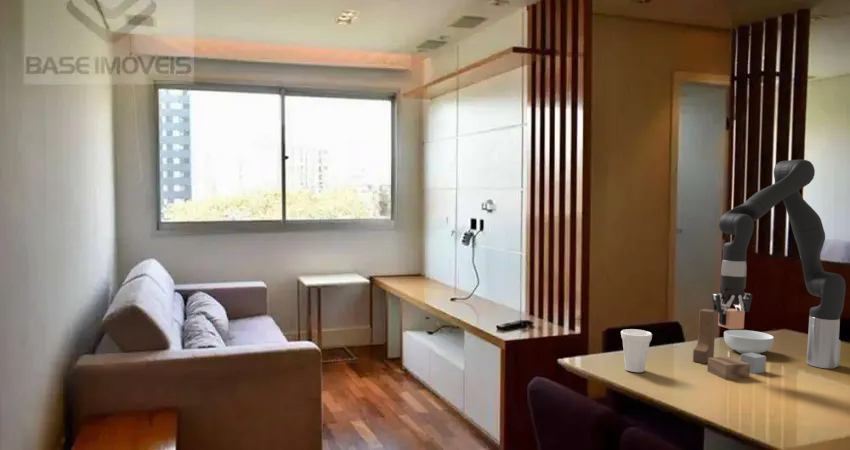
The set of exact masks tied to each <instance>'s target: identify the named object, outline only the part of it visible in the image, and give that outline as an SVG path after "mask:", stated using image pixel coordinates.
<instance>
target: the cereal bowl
mask: <svg viewBox="0 0 850 450" xmlns="http://www.w3.org/2000/svg"><path fill="white" fill-rule="evenodd" d="M723 339H724V342H725V344H726V345H727V346H728V347H729V348H730V349H733V350H735V352H737V353H739V354H744V353H750V352H752V353H756V354H759V355H761V353H765V352H767V351H769V350H770V349H772V348H773V346H774V341H775V337H774V336H773V335H771V334H769V333H766V332H761V331H756V330H747V329H728V330H725V331H724V332H723Z"/></svg>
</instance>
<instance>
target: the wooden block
mask: <svg viewBox="0 0 850 450" xmlns="http://www.w3.org/2000/svg"><path fill="white" fill-rule="evenodd" d="M698 313H699V314H698V315H699V317H698V319H699V320H698V334H697V335H698V338H697V343H696V346H695V347H694V348H693V350H692V351H693V353H692V361H693V363H694V362H695V363H700V364H705V365H706V364H708V358H713V357H714V355H715V337H716V317H717V312H716V311H714V309H708V308H702V309H700V310H699V312H698Z"/></svg>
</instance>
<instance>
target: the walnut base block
mask: <svg viewBox="0 0 850 450" xmlns="http://www.w3.org/2000/svg"><path fill="white" fill-rule="evenodd" d="M706 372H707V373H710V374H712V375H714V376H717V377H719V378H721V379H723V380H741V379H742V380H743V379H750V364H748V363H746V362H743V361H741V359H738V358H736V357H733V356H718V357H717V356H715V357H713V358H708V362H707V370H706Z"/></svg>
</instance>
